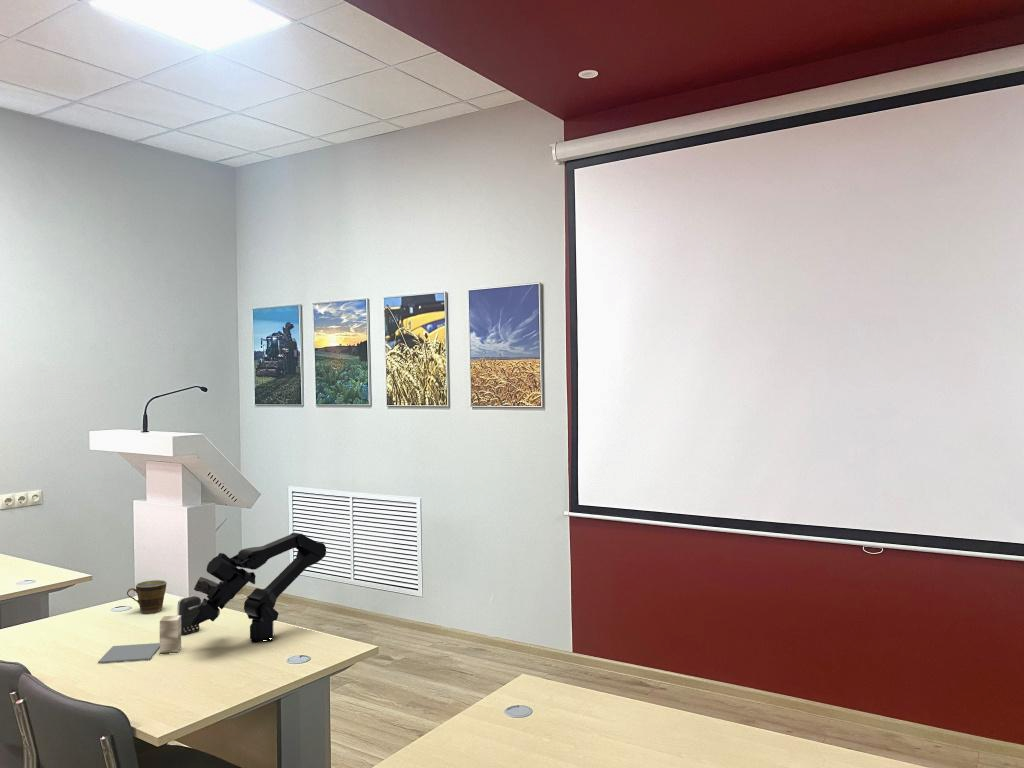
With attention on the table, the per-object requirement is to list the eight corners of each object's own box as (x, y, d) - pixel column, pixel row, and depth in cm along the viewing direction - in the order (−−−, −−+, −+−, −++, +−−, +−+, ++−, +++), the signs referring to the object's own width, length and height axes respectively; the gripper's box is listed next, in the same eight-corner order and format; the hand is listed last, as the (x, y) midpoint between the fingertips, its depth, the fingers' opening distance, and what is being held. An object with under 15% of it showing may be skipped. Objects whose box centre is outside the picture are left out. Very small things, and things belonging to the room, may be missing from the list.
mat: (161, 644, 236) (161, 642, 236) (150, 660, 222) (150, 658, 222) (112, 647, 233) (112, 645, 233) (97, 663, 219) (97, 661, 219)
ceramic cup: (161, 606, 279) (162, 578, 279) (170, 612, 271) (170, 583, 271) (123, 612, 271) (123, 584, 271) (130, 619, 263) (130, 590, 263)
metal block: (181, 648, 233) (181, 615, 233) (177, 653, 228) (177, 620, 228) (163, 649, 232) (163, 616, 232) (159, 654, 227) (159, 621, 227)
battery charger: (183, 636, 244) (184, 600, 244) (176, 634, 246) (176, 599, 246) (203, 630, 250) (203, 595, 250) (195, 628, 252) (196, 594, 252)
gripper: (216, 562, 241) (179, 598, 239) (205, 575, 223) (165, 615, 221) (242, 585, 243) (205, 622, 241) (233, 601, 225) (193, 641, 222)
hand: (192, 624), depth 231 cm, fingers closed
